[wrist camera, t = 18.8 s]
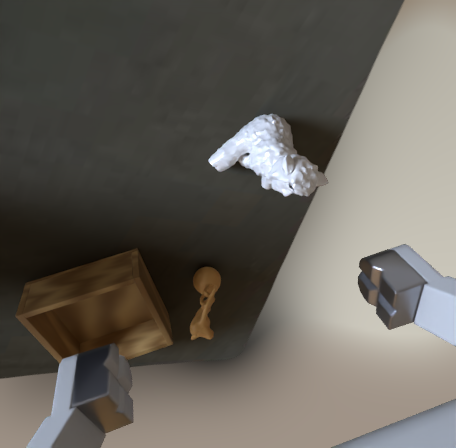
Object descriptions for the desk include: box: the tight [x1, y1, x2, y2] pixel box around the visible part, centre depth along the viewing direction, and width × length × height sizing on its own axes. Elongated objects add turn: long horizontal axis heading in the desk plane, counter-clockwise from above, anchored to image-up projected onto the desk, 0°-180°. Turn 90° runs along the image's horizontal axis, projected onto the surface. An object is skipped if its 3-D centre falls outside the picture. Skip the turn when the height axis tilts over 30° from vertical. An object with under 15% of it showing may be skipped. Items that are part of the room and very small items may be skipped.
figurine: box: [190, 267, 221, 340], centre depth 45 cm, size 8×6×12 cm
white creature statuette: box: [208, 114, 328, 196], centre depth 35 cm, size 10×9×12 cm
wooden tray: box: [16, 248, 173, 363], centre depth 46 cm, size 15×15×6 cm
